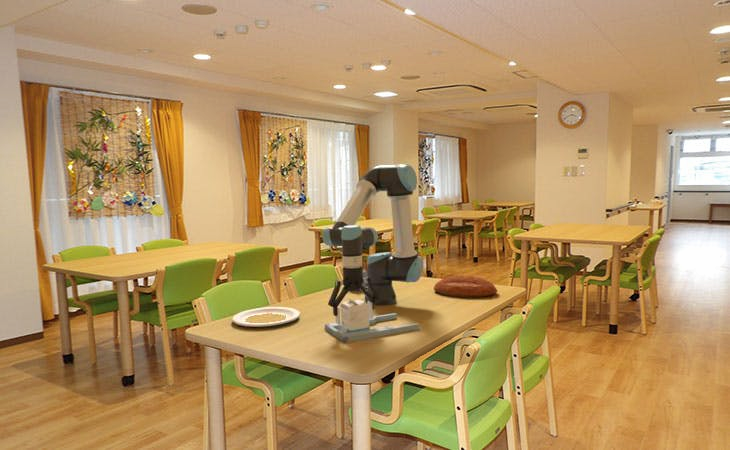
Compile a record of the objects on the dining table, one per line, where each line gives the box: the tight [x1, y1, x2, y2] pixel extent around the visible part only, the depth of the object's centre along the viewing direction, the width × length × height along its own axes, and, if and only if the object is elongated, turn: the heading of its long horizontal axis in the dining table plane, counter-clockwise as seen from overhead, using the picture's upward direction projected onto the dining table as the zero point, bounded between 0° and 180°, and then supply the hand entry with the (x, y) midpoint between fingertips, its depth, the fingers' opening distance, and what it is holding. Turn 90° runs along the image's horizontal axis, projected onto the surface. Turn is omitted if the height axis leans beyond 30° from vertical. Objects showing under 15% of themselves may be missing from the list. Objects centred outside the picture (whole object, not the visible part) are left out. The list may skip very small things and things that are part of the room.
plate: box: [232, 306, 301, 328], centre depth 214 cm, size 28×28×2 cm
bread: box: [433, 275, 498, 298], centre depth 253 cm, size 23×32×9 cm
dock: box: [324, 312, 420, 344], centre depth 196 cm, size 19×32×2 cm, turn 116°
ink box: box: [340, 297, 371, 334], centre depth 192 cm, size 9×8×13 cm
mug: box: [362, 269, 368, 290], centre depth 268 cm, size 15×11×10 cm
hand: (354, 321), depth 193 cm, fingers open, 13 cm apart
